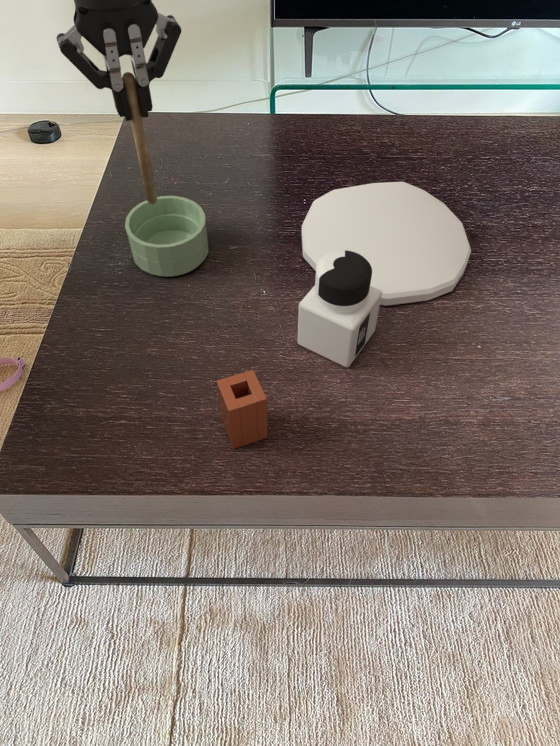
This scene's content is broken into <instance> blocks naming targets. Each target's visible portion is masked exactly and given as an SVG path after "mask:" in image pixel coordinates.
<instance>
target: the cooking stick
mask: <svg viewBox="0 0 560 746" xmlns="http://www.w3.org/2000/svg"><path fill="white" fill-rule="evenodd" d="M121 76H122V82H123V86H124V87H125V89H126V92H127V97H128V102H129V107H130V112H131V117H132V120H130V125H131V130H132V134H133V139H134V145H135V149H136V150H135V151H136V155H137V159H138V164H139V169H140V173H141V178H142V179H141V180H142V183H143V188H144V189H143V190H144V193H145V198H146V199H145V200H147V202H148V203H149V204H155V203H156V202H157V197H158V194H157V188H156V184H155V178H154V173H153V167H152V163H151V156H150V150H149V145H148V140H147V136H146V130H145V124H144V118H142V115H141V109H140V104H139V99H138V93H137V88H136V81H135V75H134V73H132V72H129V71H126V72H124V73H123V74H122V75H121Z"/></svg>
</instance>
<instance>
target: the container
mask: <svg viewBox="0 0 560 746" xmlns="http://www.w3.org/2000/svg"><path fill="white" fill-rule="evenodd" d="M371 277H372V267H371V265H370V263H369V262H368V261H367V260H366V259H365V258H364V257H363V256H361V255H360V254H358V253H355V252H352V251H347V250H339V251H333V252H330V253H328V254H326V255H325V256H323V257H322V258H321V259H320V260H319V262H318V263H317V266H316V271H315V277H314V278H315V280H314V286H313V287H311V289H310V290H309V291H308V293H306V295H305V296H304V297H303V298H302V300H301V301H300V302H299V303H298V314H297V315H298V318H297V338H296V339H297V342H296V343H297V345H299V346H301V347H303V348H304V349H307V350H309V351H311V352H312V353H313V352H314V353H316V354H318V355H320V356H321V357H324V358H326V359H328V360H330V361H332V362H334V363H336V364H338V365H340V366H342V367H344V368H350V366H351V365H352V363H353V362H354V361H355V359H356V358H357V357H358V355H359V354H360V352H361V351H362V350H363V349H364V347H365V345H366V344H367V343H368V342H369V340H370V339H371V337H372V336H373V334H374V333H375V331H376V327H377V321H378V316H379V311H380V306H381V305H380V301H381V296H382V291H381V290H379V289H377V288H374V287H372V286H370V283H371Z"/></svg>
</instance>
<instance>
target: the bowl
mask: <svg viewBox="0 0 560 746" xmlns="http://www.w3.org/2000/svg"><path fill="white" fill-rule="evenodd" d="M124 229H125V232H126V237H127V241H128V245H129V249H130V252H131V253H130V254H131V256H132V259H133V262H134V264H135V265H136V266H137V267H138V268H139V269H140V270H142V271H143V272H145V273H148V274H150V275H154V276H157V277H165V278H168V277H169V278H170V277H171V278H172V277H178V276H182V275H185V274H187V273H190V272H192V271H193V270H195V269H197V268H198V267H199V266H200V265H201V264H202V263H204V261H205V260H206V258H207V256H208V254H209V253H210V251H209V250H210V249H209V247H210V243H209V235H208V234H209V233H208V227H207V217H206V214H205V212H204V210H203V207H201V206H200V205H199V204H198V203H197V202H196V201H194V200H192V199H190V198H187V197H184V196H178V195H160V196H157V202H156V203H155V204H149V203H148V202H147V199H145V200H144V201H142V202H139V203H138V204H136V205H135V206H134V207H133V208H132V209H130V210H129V213H128V214H127V216H126V217H125V221H124Z"/></svg>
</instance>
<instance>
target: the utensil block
mask: <svg viewBox="0 0 560 746" xmlns="http://www.w3.org/2000/svg"><path fill="white" fill-rule="evenodd" d="M216 388H217V396H218V403H219V410H220V418H221V422H222V425H223V428H224V430H225V432H226V435H227V438H228V440H229V443H230V445H231V448H232V450H236V449H239V448H241V447H244V446H247V445H251V444H253V443H256V442H259V441H262V440H264V439H265V440H266V439H268V438H269V435H268V434H269V433H268V431H269V430H268V429H269V428H268V398H267V396H266V393H265V392H264V389H263V387H262V385H261V383H260V381H259V378H258V377H257V375H256V372H255V370H254V369H250V370H247V371H244V372H240V373H237V374H233V375H230V376H228V377H227V376H226V377H223V378H221V379H220V378H219V379H217V380H216Z"/></svg>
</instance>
